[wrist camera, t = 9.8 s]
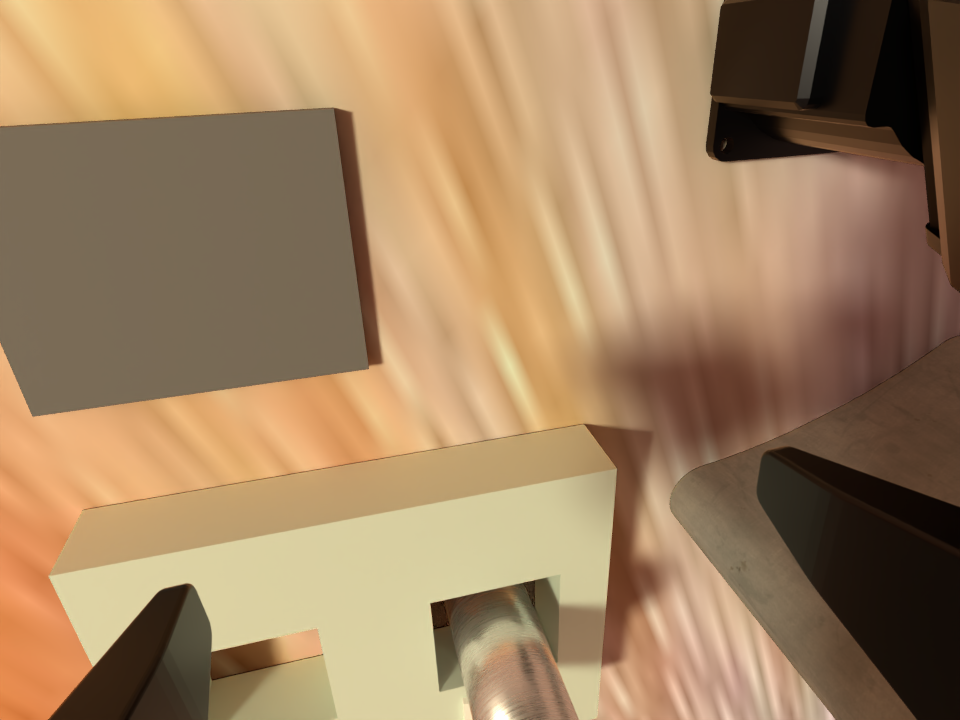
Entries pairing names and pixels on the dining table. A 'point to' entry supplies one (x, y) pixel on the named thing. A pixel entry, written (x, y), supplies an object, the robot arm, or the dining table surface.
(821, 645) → the grey upright panel
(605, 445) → the dining table surface
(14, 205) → the mat
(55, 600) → the dining table surface
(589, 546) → the socket block
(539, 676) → the plug
